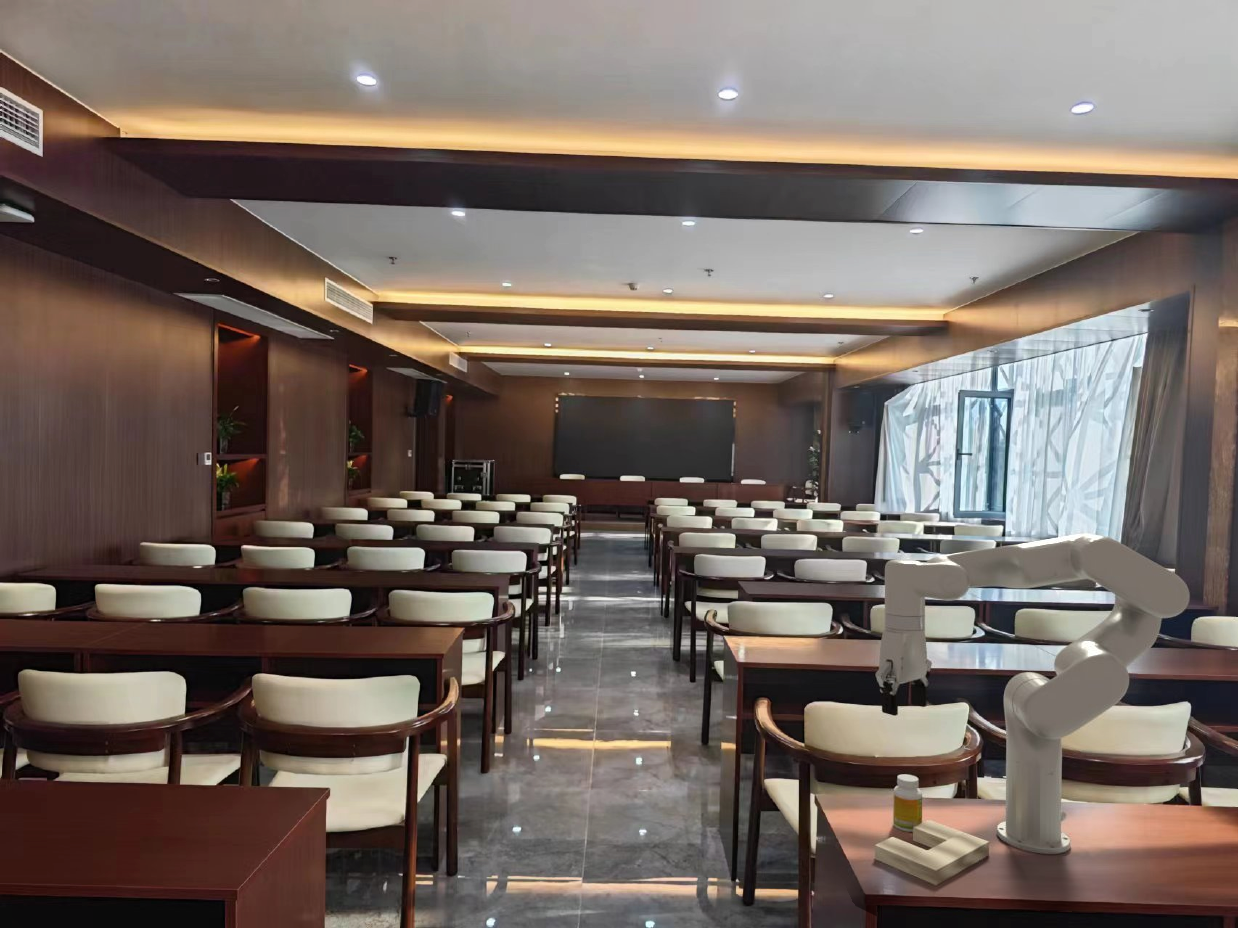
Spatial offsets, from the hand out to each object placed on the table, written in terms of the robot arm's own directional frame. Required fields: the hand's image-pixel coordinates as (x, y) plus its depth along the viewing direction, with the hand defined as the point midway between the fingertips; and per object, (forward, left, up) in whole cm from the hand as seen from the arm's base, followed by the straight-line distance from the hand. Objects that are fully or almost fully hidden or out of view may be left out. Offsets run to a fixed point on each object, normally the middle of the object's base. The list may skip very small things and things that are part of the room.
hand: (904, 709), depth 163 cm
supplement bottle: (-1, 0, -24) cm, 24 cm away
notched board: (+7, +10, -23) cm, 26 cm away
